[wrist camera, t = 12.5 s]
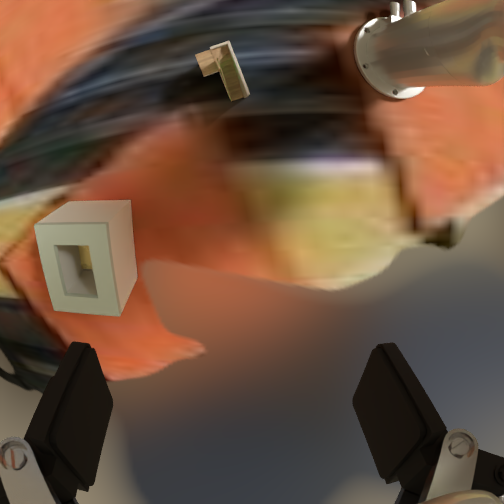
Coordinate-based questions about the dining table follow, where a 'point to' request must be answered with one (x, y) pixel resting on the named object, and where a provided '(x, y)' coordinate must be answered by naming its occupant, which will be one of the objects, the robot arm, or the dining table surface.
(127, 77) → the dining table surface
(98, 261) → the box
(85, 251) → the tan wooden block
